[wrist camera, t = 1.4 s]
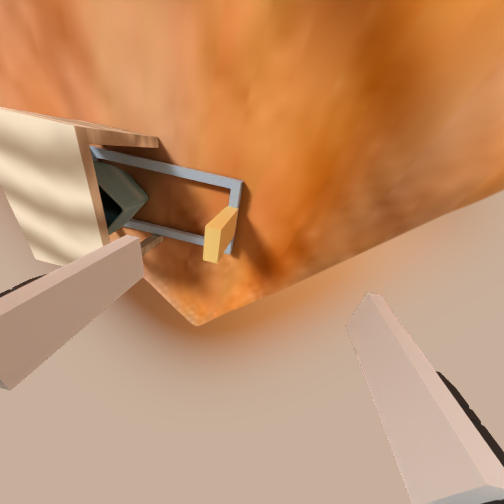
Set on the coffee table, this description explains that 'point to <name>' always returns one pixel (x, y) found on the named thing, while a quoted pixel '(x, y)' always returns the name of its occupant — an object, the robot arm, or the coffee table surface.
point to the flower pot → (118, 195)
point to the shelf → (59, 182)
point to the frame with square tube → (224, 223)
